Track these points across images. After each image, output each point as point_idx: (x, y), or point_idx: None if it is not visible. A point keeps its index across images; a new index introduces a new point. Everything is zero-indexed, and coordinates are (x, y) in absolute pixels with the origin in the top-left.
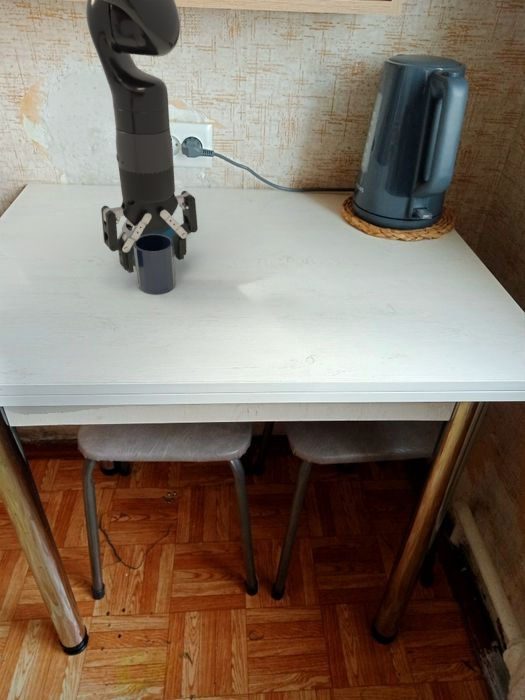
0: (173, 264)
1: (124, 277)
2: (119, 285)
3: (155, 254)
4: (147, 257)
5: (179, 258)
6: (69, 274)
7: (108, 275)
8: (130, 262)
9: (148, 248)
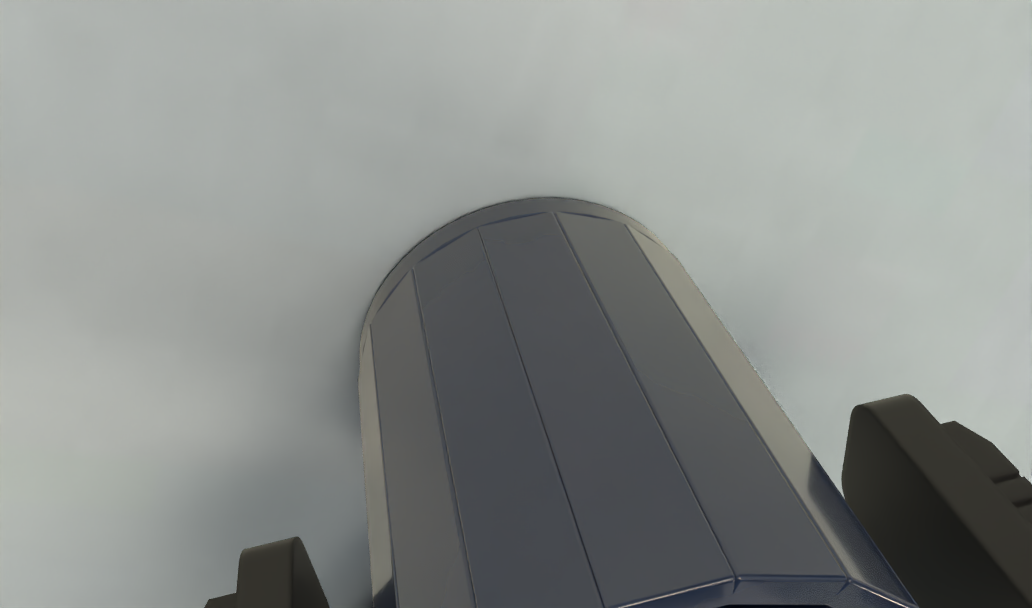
0: (405, 457)
1: None
2: (798, 388)
3: (759, 545)
4: (834, 516)
5: (297, 554)
6: None
7: None
8: (969, 484)
9: None
